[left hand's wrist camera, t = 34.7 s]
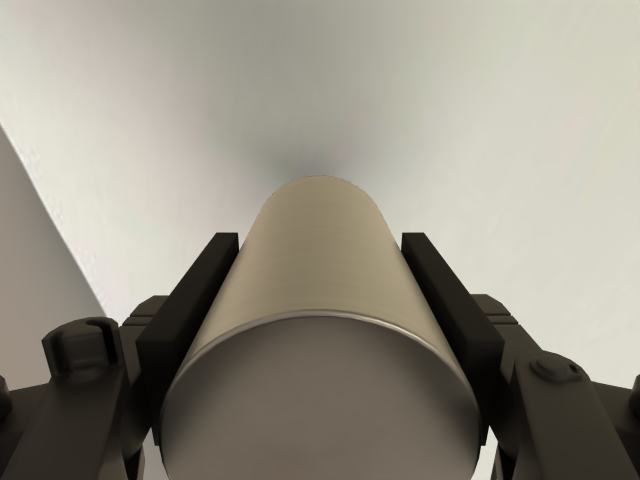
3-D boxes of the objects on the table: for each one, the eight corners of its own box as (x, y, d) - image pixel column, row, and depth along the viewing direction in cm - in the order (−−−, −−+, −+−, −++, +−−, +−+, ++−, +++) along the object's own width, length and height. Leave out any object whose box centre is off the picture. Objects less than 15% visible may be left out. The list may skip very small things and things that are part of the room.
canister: (237, 191, 17) (103, 349, 6) (374, 161, 16) (468, 278, 6) (272, 310, 18) (213, 578, 8) (395, 286, 18) (494, 537, 8)
